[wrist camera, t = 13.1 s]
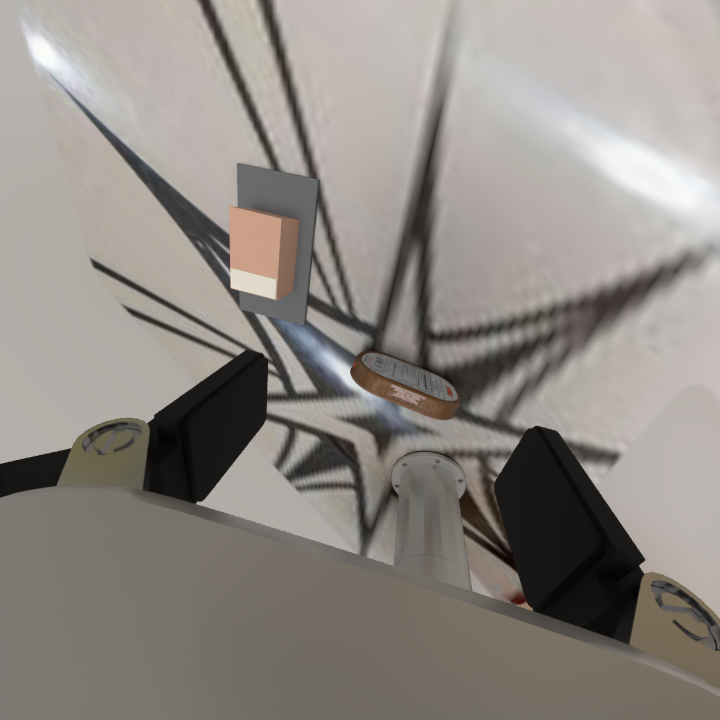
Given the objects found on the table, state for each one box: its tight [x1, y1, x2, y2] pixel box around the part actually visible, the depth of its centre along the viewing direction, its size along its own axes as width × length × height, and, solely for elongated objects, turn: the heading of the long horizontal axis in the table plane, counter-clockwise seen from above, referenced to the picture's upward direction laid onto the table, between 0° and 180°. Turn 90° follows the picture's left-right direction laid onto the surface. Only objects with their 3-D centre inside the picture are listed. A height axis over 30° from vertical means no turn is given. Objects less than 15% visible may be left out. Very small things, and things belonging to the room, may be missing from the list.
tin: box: [350, 351, 461, 420], centre depth 36 cm, size 15×3×8 cm, turn 71°
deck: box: [229, 206, 299, 300], centre depth 34 cm, size 6×9×5 cm, turn 168°
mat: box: [237, 163, 320, 325], centre depth 36 cm, size 18×10×1 cm, turn 169°
